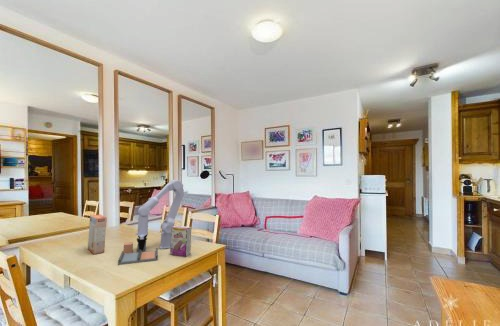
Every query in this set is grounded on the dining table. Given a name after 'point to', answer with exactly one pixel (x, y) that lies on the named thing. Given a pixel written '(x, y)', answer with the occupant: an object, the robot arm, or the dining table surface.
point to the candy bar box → (180, 241)
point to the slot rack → (138, 257)
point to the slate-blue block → (143, 249)
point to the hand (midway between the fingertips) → (141, 248)
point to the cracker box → (97, 234)
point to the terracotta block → (128, 247)
